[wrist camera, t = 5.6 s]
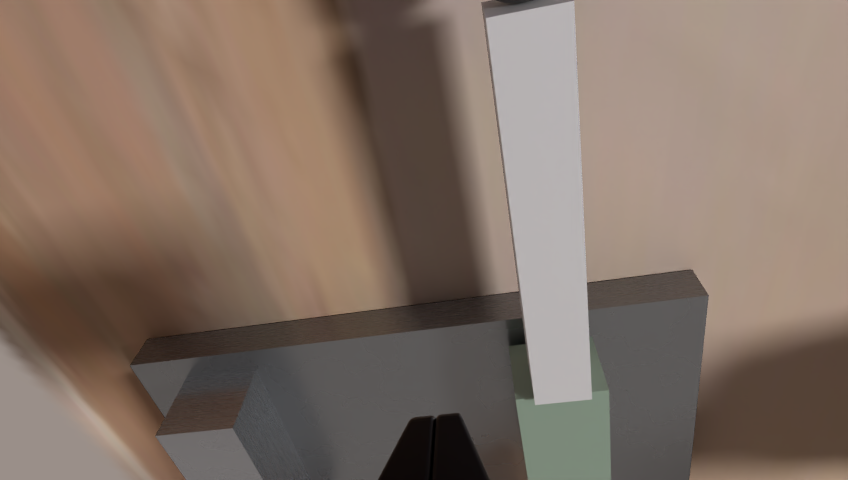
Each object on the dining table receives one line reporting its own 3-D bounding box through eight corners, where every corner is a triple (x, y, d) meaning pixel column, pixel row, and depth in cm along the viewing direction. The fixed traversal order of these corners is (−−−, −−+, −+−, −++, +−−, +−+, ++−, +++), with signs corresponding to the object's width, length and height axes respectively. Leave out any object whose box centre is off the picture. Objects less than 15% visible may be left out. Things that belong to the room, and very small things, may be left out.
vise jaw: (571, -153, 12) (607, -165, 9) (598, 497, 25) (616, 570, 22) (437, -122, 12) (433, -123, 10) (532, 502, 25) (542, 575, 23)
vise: (692, 269, 20) (745, 353, 17) (675, 468, 26) (711, 560, 23) (147, 339, 23) (91, 423, 20) (249, 502, 29) (221, 588, 26)
